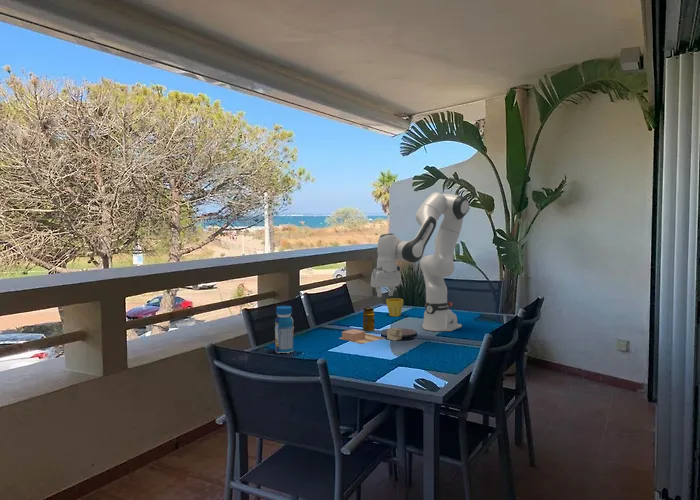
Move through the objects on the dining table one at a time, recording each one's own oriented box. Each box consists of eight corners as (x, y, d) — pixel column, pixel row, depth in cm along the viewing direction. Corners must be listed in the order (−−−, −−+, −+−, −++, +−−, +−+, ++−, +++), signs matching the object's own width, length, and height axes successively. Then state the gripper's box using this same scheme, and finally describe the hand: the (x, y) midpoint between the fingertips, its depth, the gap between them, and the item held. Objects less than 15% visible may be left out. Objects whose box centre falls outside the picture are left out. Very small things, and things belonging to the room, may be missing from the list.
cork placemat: (363, 333, 251) (363, 332, 251) (386, 338, 239) (386, 337, 239) (338, 338, 240) (338, 338, 240) (361, 344, 228) (361, 344, 228)
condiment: (377, 331, 256) (377, 308, 256) (364, 333, 252) (364, 310, 251) (369, 328, 263) (369, 306, 262) (356, 330, 258) (356, 308, 257)
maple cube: (394, 338, 241) (394, 328, 241) (401, 339, 237) (401, 329, 237) (387, 339, 238) (387, 329, 237) (394, 341, 234) (394, 331, 234)
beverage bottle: (285, 355, 211) (285, 309, 210) (271, 352, 216) (270, 307, 215) (298, 350, 219) (297, 306, 217) (283, 348, 223) (282, 304, 222)
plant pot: (384, 316, 295) (384, 300, 294) (388, 313, 304) (388, 298, 304) (401, 317, 292) (401, 301, 291) (404, 314, 301) (404, 298, 301)
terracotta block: (354, 336, 244) (354, 329, 244) (365, 338, 238) (365, 331, 238) (342, 338, 239) (341, 331, 238) (353, 341, 233) (353, 334, 233)
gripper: (379, 267, 224) (378, 298, 224) (402, 267, 240) (402, 295, 240) (367, 267, 228) (366, 296, 228) (392, 266, 244) (391, 294, 244)
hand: (385, 296), depth 234 cm, fingers open, 8 cm apart
